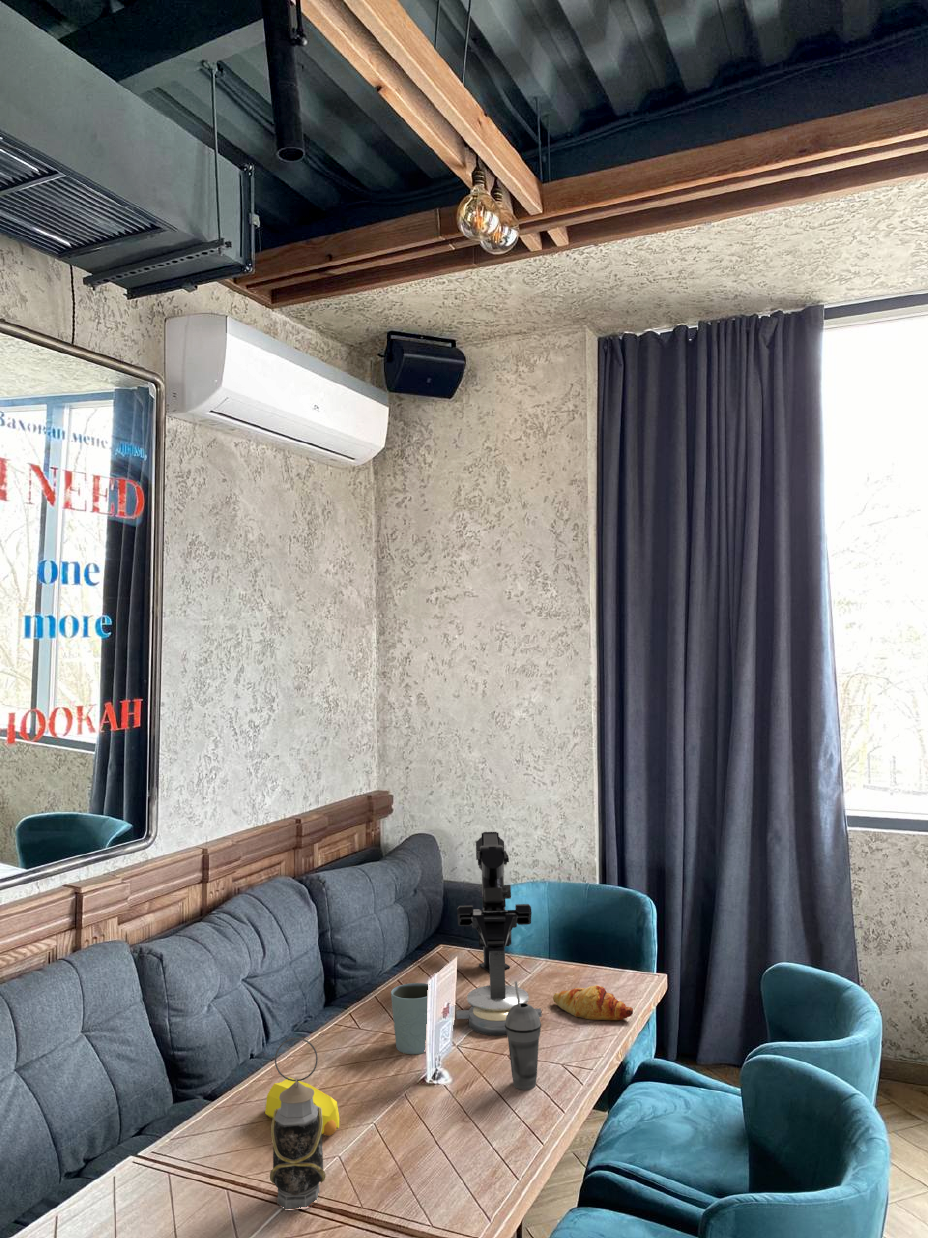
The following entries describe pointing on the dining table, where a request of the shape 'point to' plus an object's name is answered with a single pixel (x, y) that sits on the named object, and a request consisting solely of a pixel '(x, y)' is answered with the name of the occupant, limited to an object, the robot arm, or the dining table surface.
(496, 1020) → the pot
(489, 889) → the robot arm
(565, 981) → the dining table surface
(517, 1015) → the beverage cup
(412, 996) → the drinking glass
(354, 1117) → the dining table surface
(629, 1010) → the croissant
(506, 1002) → the disc with square post
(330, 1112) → the yellow rounded lump
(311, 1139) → the lantern
